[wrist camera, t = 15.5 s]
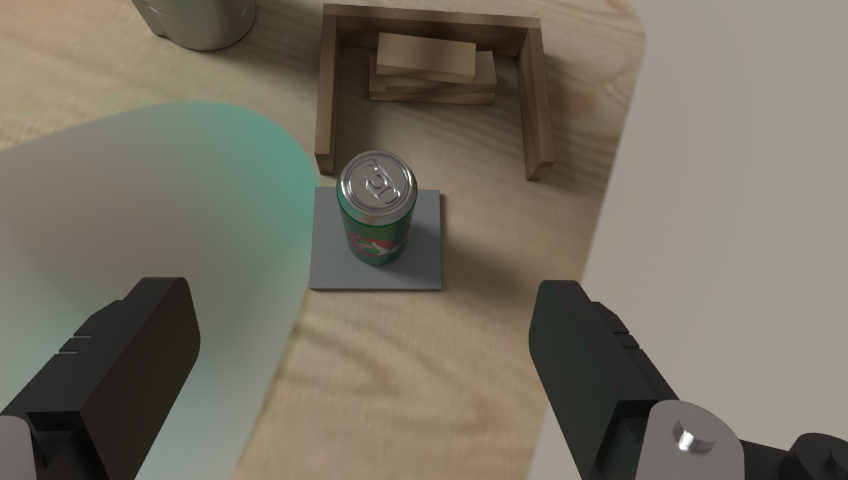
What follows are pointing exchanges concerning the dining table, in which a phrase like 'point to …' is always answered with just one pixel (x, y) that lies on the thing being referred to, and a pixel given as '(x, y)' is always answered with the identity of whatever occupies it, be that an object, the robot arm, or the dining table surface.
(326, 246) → the mat
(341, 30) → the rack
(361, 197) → the soda can
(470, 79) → the offcut stack
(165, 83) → the dining table surface
